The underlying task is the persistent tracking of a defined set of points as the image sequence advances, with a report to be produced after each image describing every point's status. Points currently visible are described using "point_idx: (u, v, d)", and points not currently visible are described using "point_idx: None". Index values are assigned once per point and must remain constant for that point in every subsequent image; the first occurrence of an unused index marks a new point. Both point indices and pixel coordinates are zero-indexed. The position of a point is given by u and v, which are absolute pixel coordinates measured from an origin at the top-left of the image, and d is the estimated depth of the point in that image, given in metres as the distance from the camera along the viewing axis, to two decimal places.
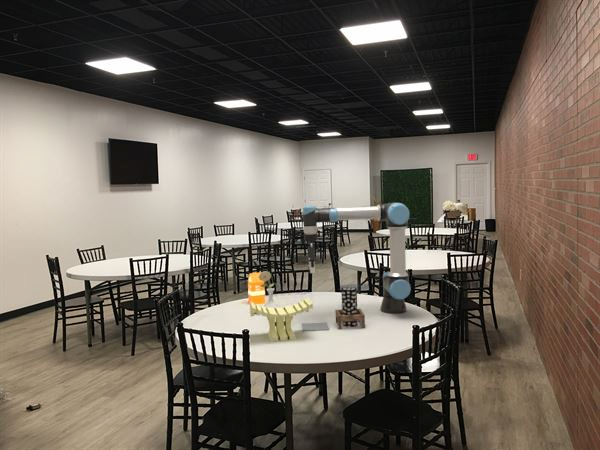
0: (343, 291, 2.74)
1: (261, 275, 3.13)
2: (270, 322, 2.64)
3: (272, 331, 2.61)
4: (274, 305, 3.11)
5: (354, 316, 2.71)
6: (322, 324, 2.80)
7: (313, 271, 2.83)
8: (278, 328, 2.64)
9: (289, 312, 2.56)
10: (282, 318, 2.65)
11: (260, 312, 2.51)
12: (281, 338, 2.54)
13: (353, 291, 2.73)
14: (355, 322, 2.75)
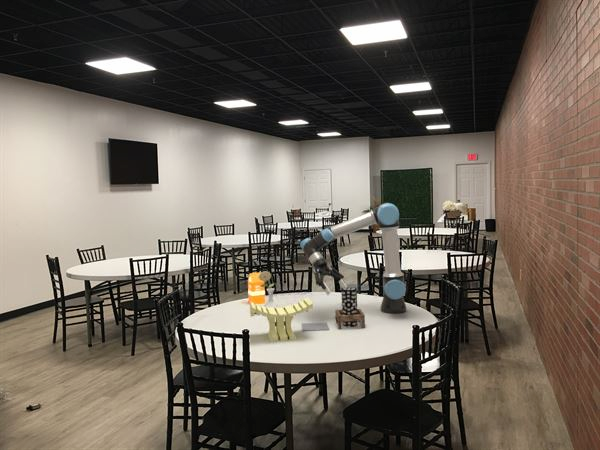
0: (343, 291, 2.74)
1: (261, 275, 3.13)
2: (270, 322, 2.64)
3: (272, 331, 2.61)
4: (274, 305, 3.11)
5: (354, 316, 2.71)
6: (322, 324, 2.80)
7: (328, 291, 2.77)
8: (278, 328, 2.64)
9: (289, 312, 2.56)
10: (282, 318, 2.65)
11: (260, 312, 2.51)
12: (281, 338, 2.54)
13: (353, 291, 2.73)
14: (355, 322, 2.75)
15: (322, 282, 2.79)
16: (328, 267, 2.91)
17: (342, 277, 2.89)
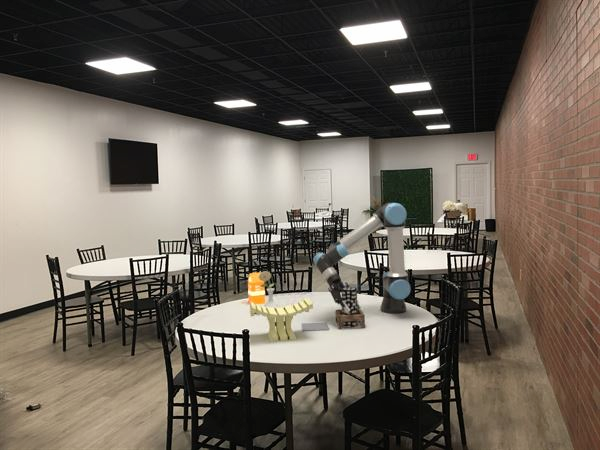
0: (343, 291, 2.74)
1: (261, 275, 3.13)
2: (270, 322, 2.64)
3: (272, 331, 2.61)
4: (274, 305, 3.11)
5: (354, 316, 2.71)
6: (322, 324, 2.80)
7: (347, 310, 2.72)
8: (278, 328, 2.64)
9: (289, 312, 2.56)
10: (282, 318, 2.65)
11: (260, 312, 2.51)
12: (281, 338, 2.54)
13: (353, 291, 2.73)
14: (355, 322, 2.75)
15: (341, 300, 2.74)
16: (342, 283, 2.85)
17: None
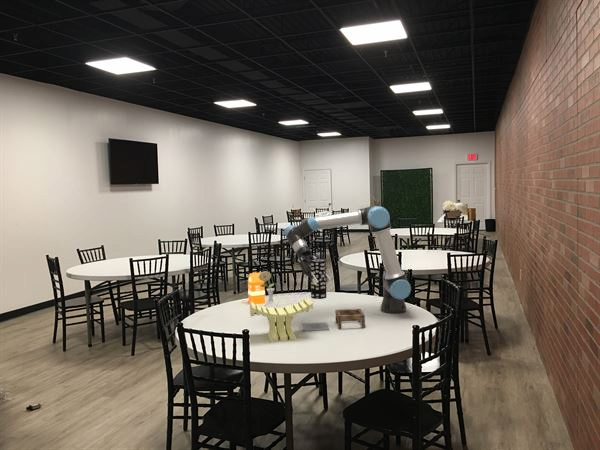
0: (312, 262, 2.72)
1: (261, 275, 3.13)
2: (270, 322, 2.64)
3: (272, 331, 2.61)
4: (274, 305, 3.11)
5: (354, 316, 2.71)
6: (322, 324, 2.80)
7: (315, 281, 2.69)
8: (278, 328, 2.64)
9: (289, 312, 2.56)
10: (282, 318, 2.65)
11: (260, 312, 2.51)
12: (281, 338, 2.54)
13: (322, 262, 2.71)
14: (323, 294, 2.72)
15: (310, 272, 2.71)
16: (312, 255, 2.82)
17: None
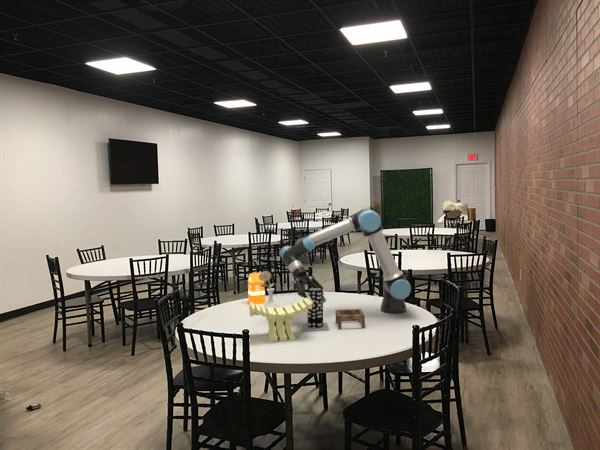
0: (309, 291, 2.73)
1: (261, 275, 3.13)
2: (269, 322, 2.64)
3: (271, 331, 2.61)
4: (274, 305, 3.11)
5: (354, 316, 2.71)
6: None
7: None
8: (277, 328, 2.64)
9: (288, 312, 2.55)
10: (281, 318, 2.65)
11: (259, 312, 2.51)
12: (281, 338, 2.54)
13: (318, 292, 2.72)
14: (320, 323, 2.73)
15: None
16: (308, 276, 2.83)
17: None
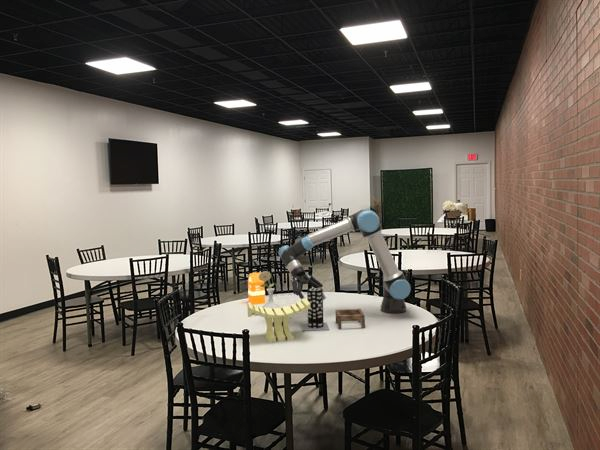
0: (308, 292, 2.73)
1: (261, 275, 3.13)
2: (268, 323, 2.63)
3: (270, 332, 2.61)
4: (274, 305, 3.11)
5: (354, 316, 2.71)
6: None
7: None
8: (276, 329, 2.63)
9: (287, 312, 2.55)
10: (280, 318, 2.64)
11: (258, 313, 2.50)
12: (279, 339, 2.53)
13: (318, 292, 2.72)
14: (321, 323, 2.74)
15: (300, 291, 2.72)
16: (306, 275, 2.83)
17: (321, 286, 2.82)
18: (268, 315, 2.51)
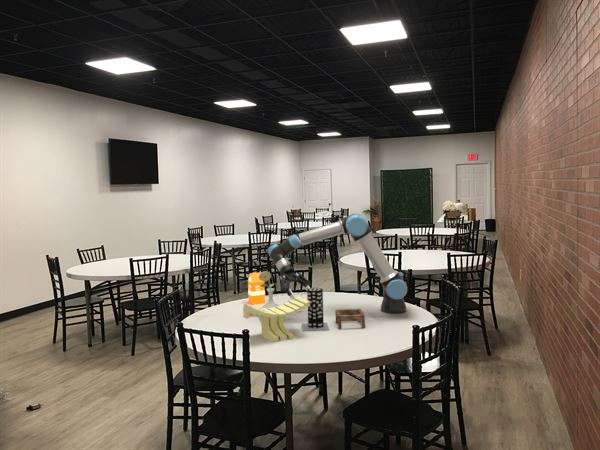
0: (309, 292, 2.73)
1: (261, 275, 3.13)
2: (264, 323, 2.63)
3: (268, 332, 2.61)
4: (274, 305, 3.11)
5: (354, 316, 2.71)
6: None
7: (293, 298, 2.76)
8: (272, 328, 2.64)
9: (287, 311, 2.58)
10: (276, 318, 2.65)
11: (261, 313, 2.49)
12: (281, 337, 2.55)
13: (318, 292, 2.72)
14: (321, 323, 2.74)
15: (288, 289, 2.78)
16: (295, 273, 2.90)
17: (309, 283, 2.88)
18: (271, 315, 2.52)
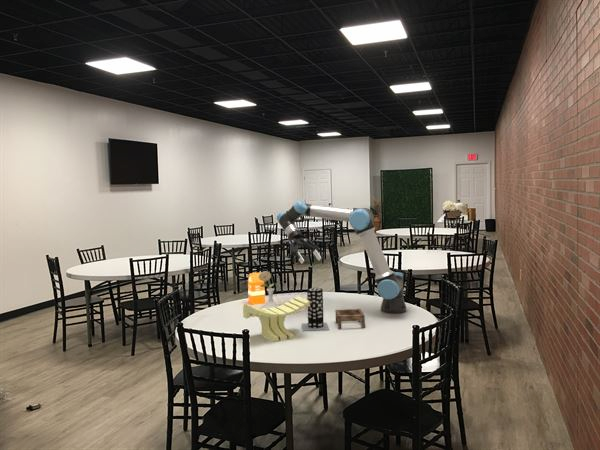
0: (308, 292, 2.73)
1: (261, 275, 3.13)
2: (264, 323, 2.63)
3: (268, 332, 2.61)
4: (274, 305, 3.11)
5: (354, 316, 2.71)
6: None
7: (302, 260, 2.91)
8: (272, 328, 2.64)
9: (287, 311, 2.58)
10: (276, 318, 2.65)
11: (261, 313, 2.49)
12: (281, 337, 2.55)
13: (318, 292, 2.72)
14: (321, 323, 2.74)
15: (296, 252, 2.94)
16: None
17: (316, 248, 3.03)
18: (271, 315, 2.52)
